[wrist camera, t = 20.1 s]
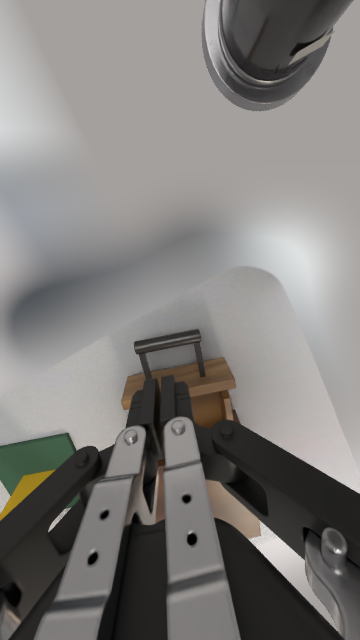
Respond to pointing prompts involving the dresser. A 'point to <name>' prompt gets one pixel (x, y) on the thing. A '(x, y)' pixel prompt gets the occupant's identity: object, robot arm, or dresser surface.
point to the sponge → (24, 490)
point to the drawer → (188, 378)
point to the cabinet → (217, 504)
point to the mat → (34, 459)
